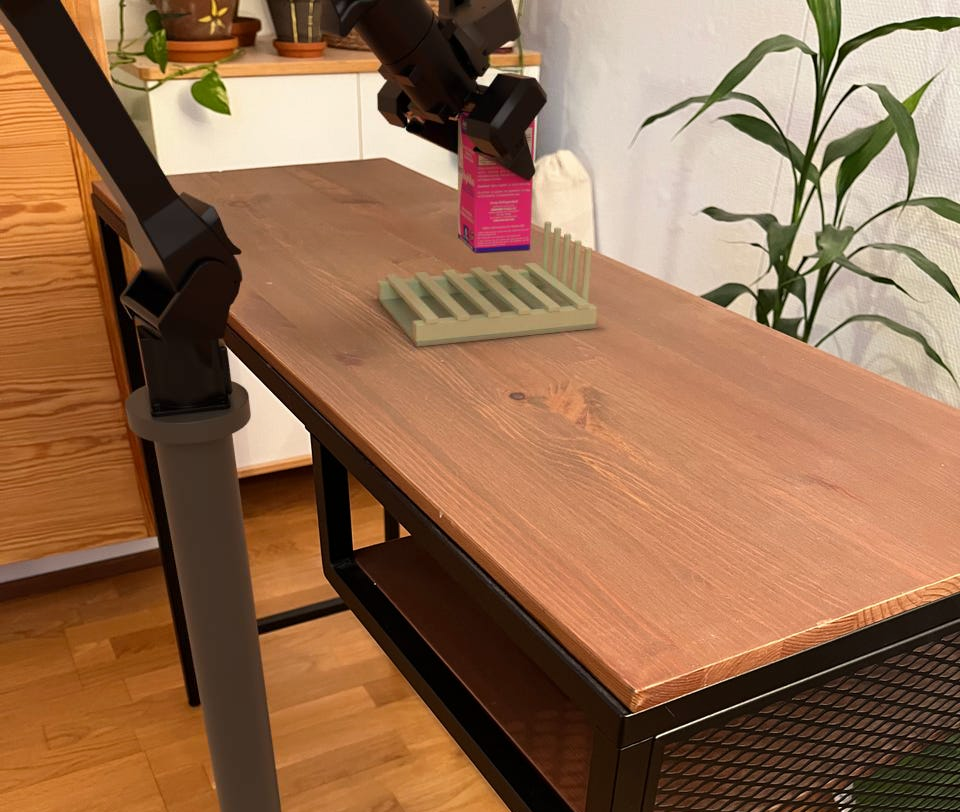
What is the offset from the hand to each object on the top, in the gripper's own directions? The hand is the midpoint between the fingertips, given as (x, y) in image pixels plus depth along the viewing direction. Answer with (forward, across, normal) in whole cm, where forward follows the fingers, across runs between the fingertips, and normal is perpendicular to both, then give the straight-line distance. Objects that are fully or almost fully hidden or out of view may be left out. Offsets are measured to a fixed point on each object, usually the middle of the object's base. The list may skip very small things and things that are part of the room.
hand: (508, 169), depth 95 cm
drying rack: (+8, 0, +11) cm, 13 cm away
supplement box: (+4, 0, +6) cm, 7 cm away
